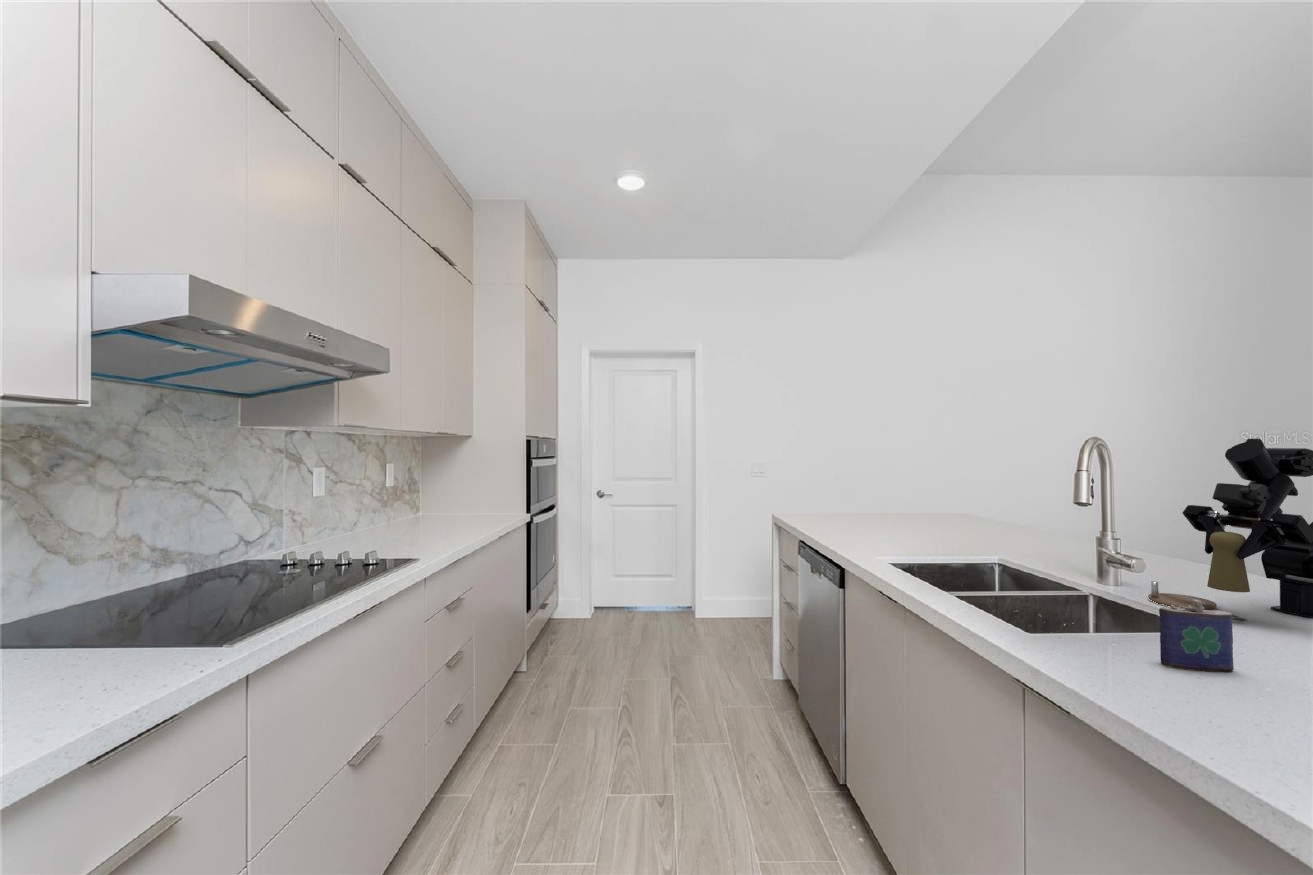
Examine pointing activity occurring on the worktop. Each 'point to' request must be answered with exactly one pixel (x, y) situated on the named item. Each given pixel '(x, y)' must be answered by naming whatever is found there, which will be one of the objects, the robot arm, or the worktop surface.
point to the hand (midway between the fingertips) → (1222, 555)
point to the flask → (1196, 638)
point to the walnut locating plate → (1177, 599)
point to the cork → (1227, 563)
